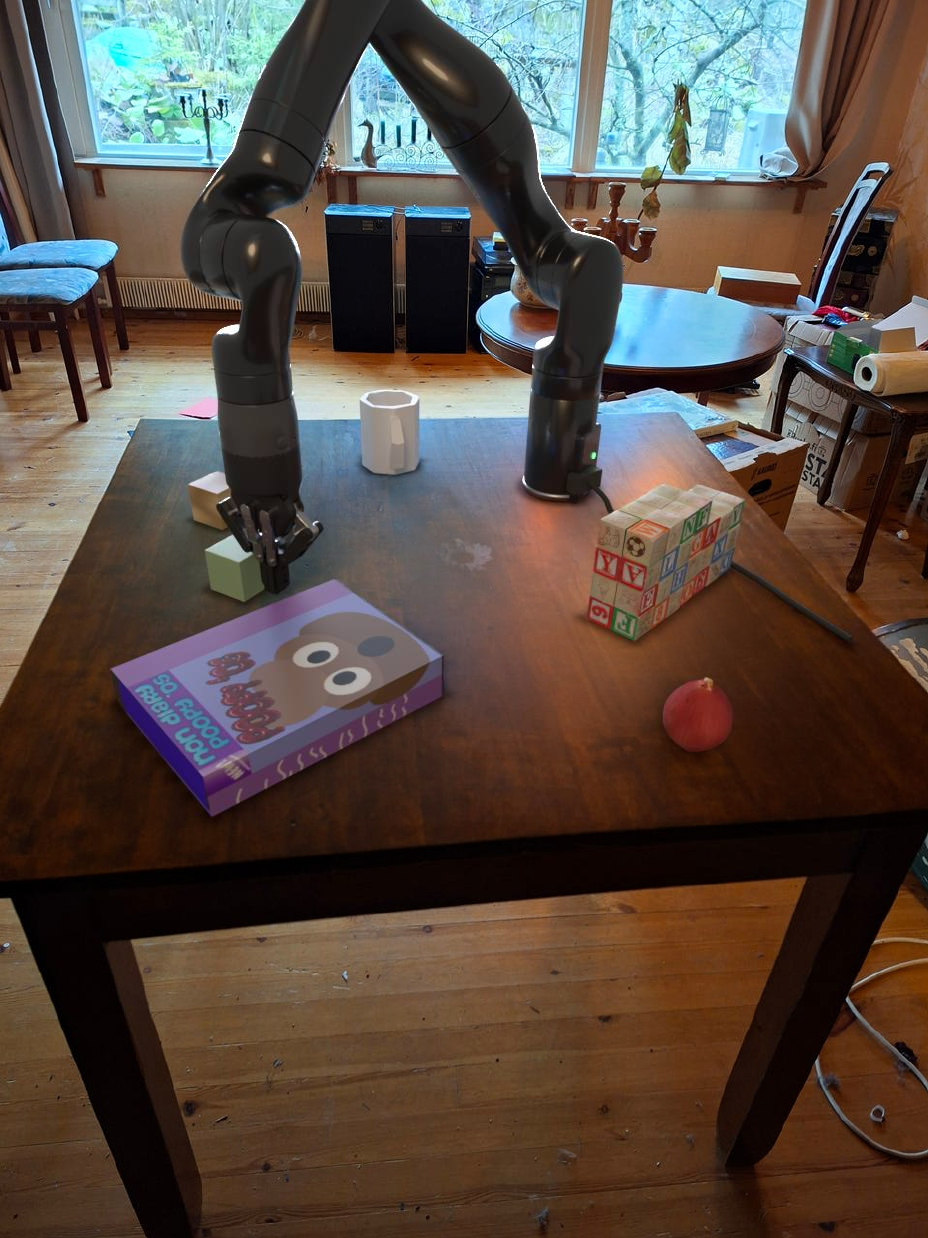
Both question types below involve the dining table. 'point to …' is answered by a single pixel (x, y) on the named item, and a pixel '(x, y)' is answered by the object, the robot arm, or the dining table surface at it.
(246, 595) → the sage block
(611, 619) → the stack of blocks
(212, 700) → the cereal box
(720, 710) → the onion
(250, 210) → the robot arm
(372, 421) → the mug
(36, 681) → the dining table surface
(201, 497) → the birch block
